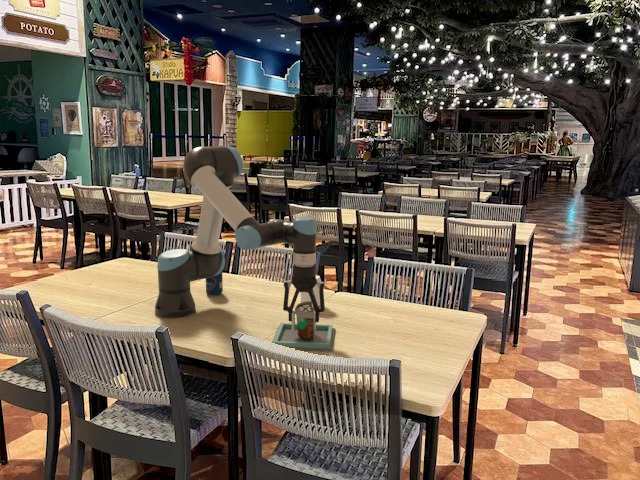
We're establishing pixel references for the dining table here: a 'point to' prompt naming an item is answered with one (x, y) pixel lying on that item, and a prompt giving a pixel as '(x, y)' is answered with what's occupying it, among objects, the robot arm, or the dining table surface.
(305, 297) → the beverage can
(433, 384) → the dining table surface
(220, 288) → the soda can
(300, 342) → the container holder
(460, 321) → the dining table surface
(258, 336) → the dining table surface
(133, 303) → the dining table surface
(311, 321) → the food container
